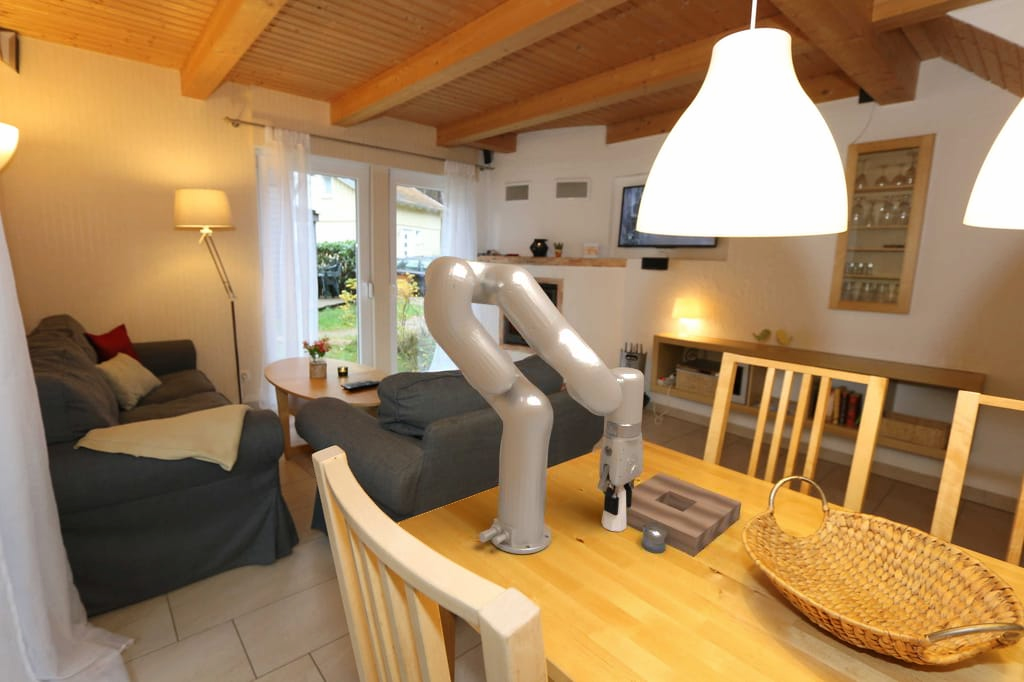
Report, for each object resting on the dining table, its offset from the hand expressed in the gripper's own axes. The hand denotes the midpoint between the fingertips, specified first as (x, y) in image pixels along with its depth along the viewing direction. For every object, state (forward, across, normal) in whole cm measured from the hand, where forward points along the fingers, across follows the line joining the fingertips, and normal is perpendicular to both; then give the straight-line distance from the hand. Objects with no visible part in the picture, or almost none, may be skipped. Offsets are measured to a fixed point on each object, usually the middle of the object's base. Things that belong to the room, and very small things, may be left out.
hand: (617, 507), depth 107 cm
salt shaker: (+4, 0, 0) cm, 4 cm away
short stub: (+4, -1, -10) cm, 10 cm away
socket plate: (+5, +13, -6) cm, 15 cm away
